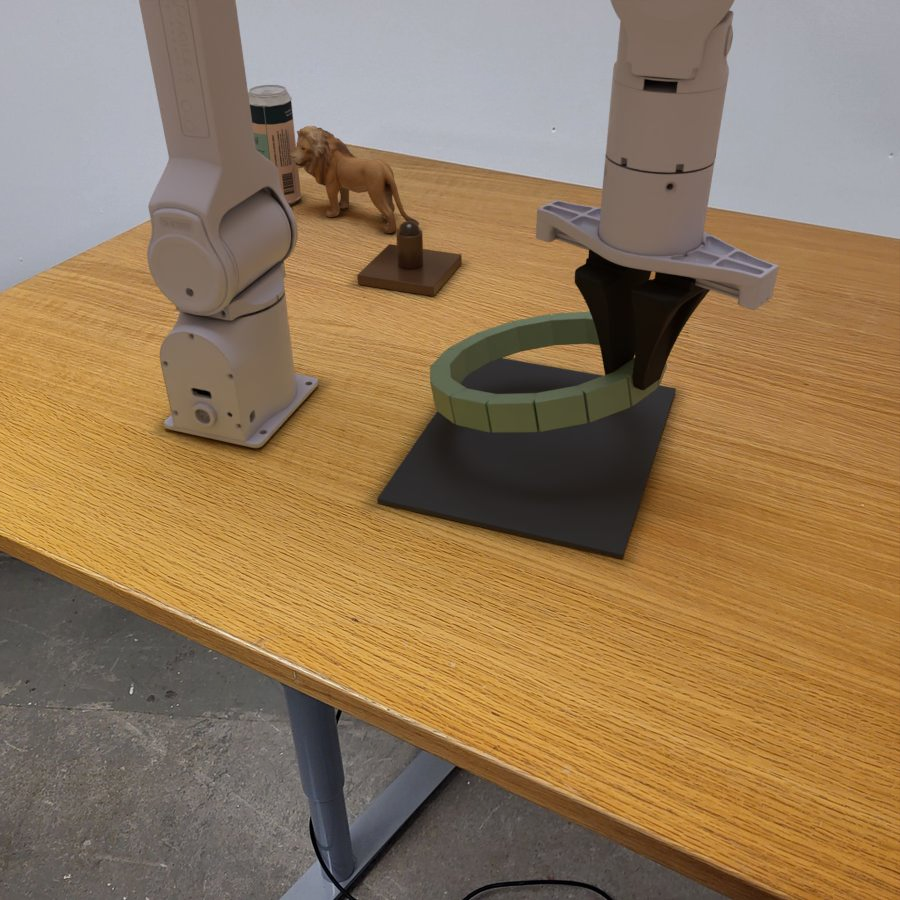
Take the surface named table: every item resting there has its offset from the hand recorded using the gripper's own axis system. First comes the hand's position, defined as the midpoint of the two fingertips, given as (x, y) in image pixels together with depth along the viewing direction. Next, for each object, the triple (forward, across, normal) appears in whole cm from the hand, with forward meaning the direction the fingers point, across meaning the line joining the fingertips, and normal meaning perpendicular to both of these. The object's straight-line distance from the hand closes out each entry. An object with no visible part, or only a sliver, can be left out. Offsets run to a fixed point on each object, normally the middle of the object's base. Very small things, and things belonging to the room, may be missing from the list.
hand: (632, 376), depth 57 cm
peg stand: (+8, +33, -14) cm, 37 cm away
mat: (+8, +7, 0) cm, 11 cm away
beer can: (+8, +57, -18) cm, 61 cm away
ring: (+3, +6, 0) cm, 7 cm away
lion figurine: (+8, +47, -20) cm, 52 cm away
